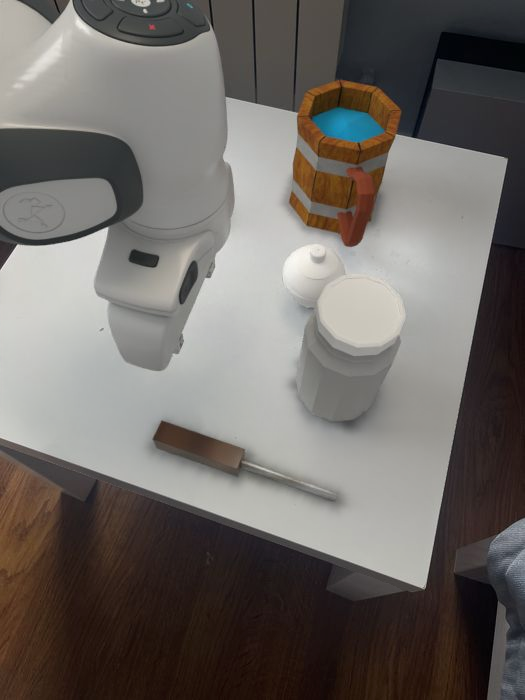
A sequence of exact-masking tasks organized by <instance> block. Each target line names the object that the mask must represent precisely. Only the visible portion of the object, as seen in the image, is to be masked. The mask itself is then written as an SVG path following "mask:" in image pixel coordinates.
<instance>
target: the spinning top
mask: <svg viewBox="0 0 525 700" xmlns="http://www.w3.org/2000/svg"><path fill="white" fill-rule="evenodd" d="M281 273H282V274H281V275H282V283H283V286H284V288H285V290H286V292H287V293H288V295H289V296H290V297H291V298H292V299H293V301H295V302H296V303H297V304H299V305H300V306H303V307H305V308H307V309H309V308H315V307H316V306H317V301H318V299H319V297H320V295H321V294H322V292H323V290H324V288H325V286H326V285H327V284H328V283H330V282H332V281H333V280H335V279H337V278H339V277H340V276H342V275H346V268H345V264H344V262H343V260H342V259H341V257H340V256H339V254H337V253H336V251H334V250H333V249H331V248H329V247H328V246H326V245H323V244H320V243H312V244H307V245H303V246H301V247H298V248H297V249H295V250H294V251H293V252H291V254H289V255H288V257H287V259H286V260H285V262H284V263H283V268H282V272H281Z"/></svg>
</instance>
